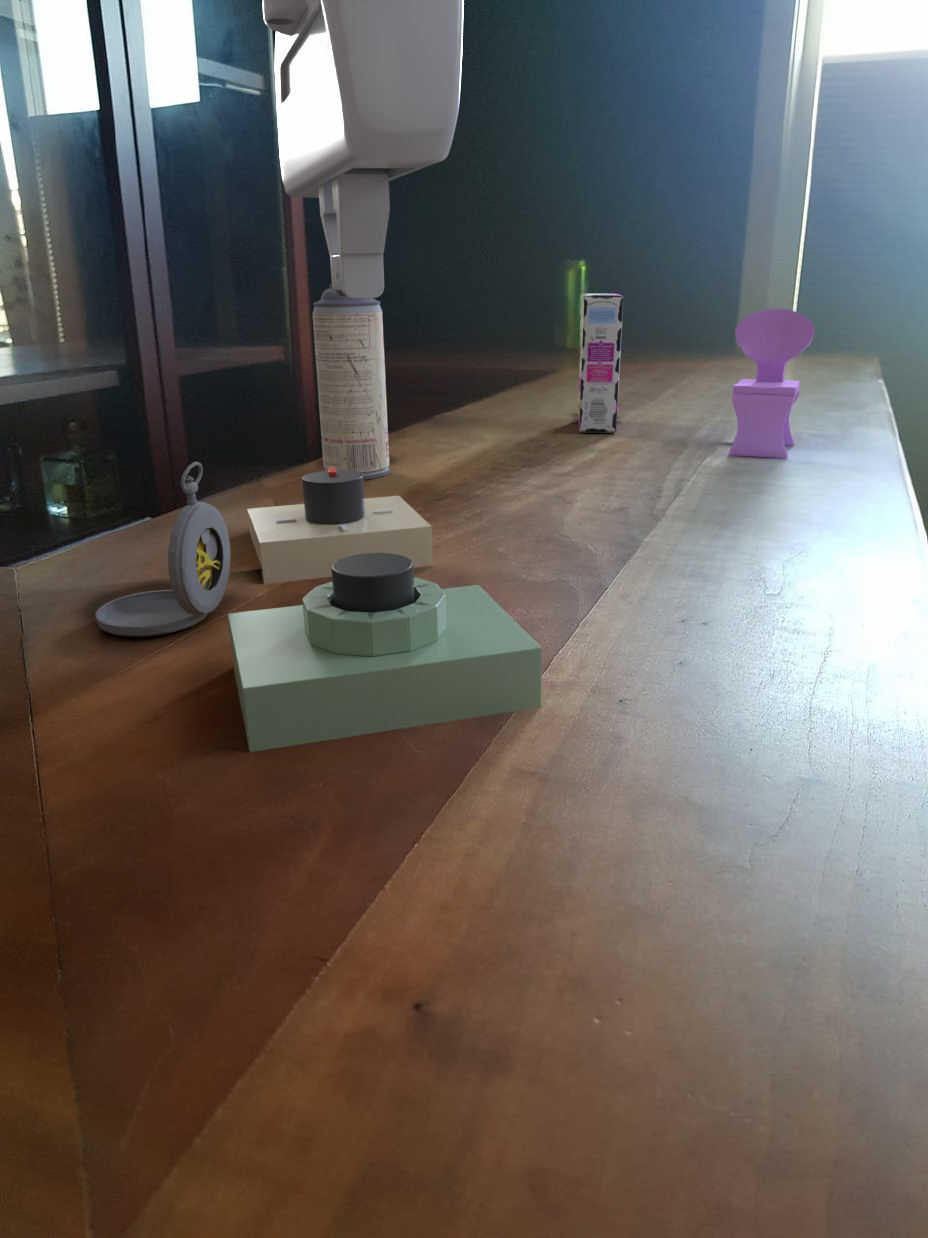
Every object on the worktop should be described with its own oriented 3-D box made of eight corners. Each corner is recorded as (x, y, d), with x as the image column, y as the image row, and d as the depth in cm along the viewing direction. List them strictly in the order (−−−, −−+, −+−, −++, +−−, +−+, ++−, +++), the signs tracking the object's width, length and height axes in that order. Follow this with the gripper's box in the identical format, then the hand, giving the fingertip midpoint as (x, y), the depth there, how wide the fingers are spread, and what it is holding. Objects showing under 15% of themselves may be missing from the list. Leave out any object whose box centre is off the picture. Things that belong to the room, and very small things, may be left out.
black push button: (341, 621, 45) (339, 580, 44) (328, 595, 48) (325, 556, 48) (423, 611, 46) (421, 571, 45) (404, 586, 49) (402, 548, 49)
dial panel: (263, 584, 65) (259, 540, 64) (250, 546, 74) (246, 506, 73) (432, 566, 68) (431, 523, 67) (400, 531, 77) (399, 493, 76)
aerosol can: (403, 471, 99) (395, 267, 92) (353, 483, 94) (340, 269, 87) (360, 463, 103) (349, 268, 96) (310, 474, 99) (294, 269, 91)
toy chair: (717, 455, 104) (728, 311, 99) (729, 441, 111) (740, 307, 106) (797, 459, 101) (813, 311, 96) (803, 445, 108) (818, 307, 103)
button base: (249, 753, 42) (238, 650, 41) (233, 668, 51) (223, 581, 50) (541, 708, 46) (542, 612, 44) (478, 636, 55) (477, 554, 53)
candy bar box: (618, 433, 118) (624, 294, 112) (578, 433, 118) (582, 295, 112) (614, 419, 128) (619, 291, 122) (577, 419, 129) (580, 292, 123)
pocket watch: (94, 614, 60) (68, 456, 56) (228, 594, 63) (211, 444, 59) (103, 660, 53) (74, 483, 49) (253, 635, 56) (236, 467, 52)
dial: (367, 522, 68) (364, 476, 67) (305, 525, 67) (302, 480, 66) (363, 507, 72) (360, 464, 71) (304, 510, 71) (301, 467, 70)
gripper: (236, -10, 46) (263, 293, 51) (288, -196, 27) (322, 308, 32) (364, -3, 47) (378, 290, 52) (495, -174, 29) (498, 302, 34)
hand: (358, 297), depth 42 cm, fingers closed
